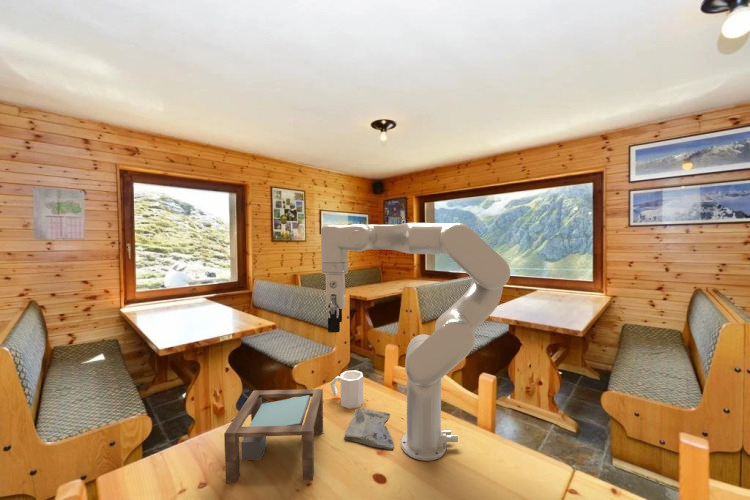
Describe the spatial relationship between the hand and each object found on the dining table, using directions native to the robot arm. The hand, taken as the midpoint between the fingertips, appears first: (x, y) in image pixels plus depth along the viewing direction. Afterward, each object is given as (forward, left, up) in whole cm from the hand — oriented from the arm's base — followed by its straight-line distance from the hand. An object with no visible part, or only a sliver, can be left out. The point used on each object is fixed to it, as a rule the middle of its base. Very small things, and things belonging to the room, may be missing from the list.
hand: (335, 326), depth 95 cm
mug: (-2, -20, -34) cm, 39 cm away
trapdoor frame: (+15, +6, -33) cm, 37 cm away
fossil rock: (-10, -4, -34) cm, 36 cm away
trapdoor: (+15, +6, -23) cm, 28 cm away
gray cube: (+20, +6, -31) cm, 37 cm away
